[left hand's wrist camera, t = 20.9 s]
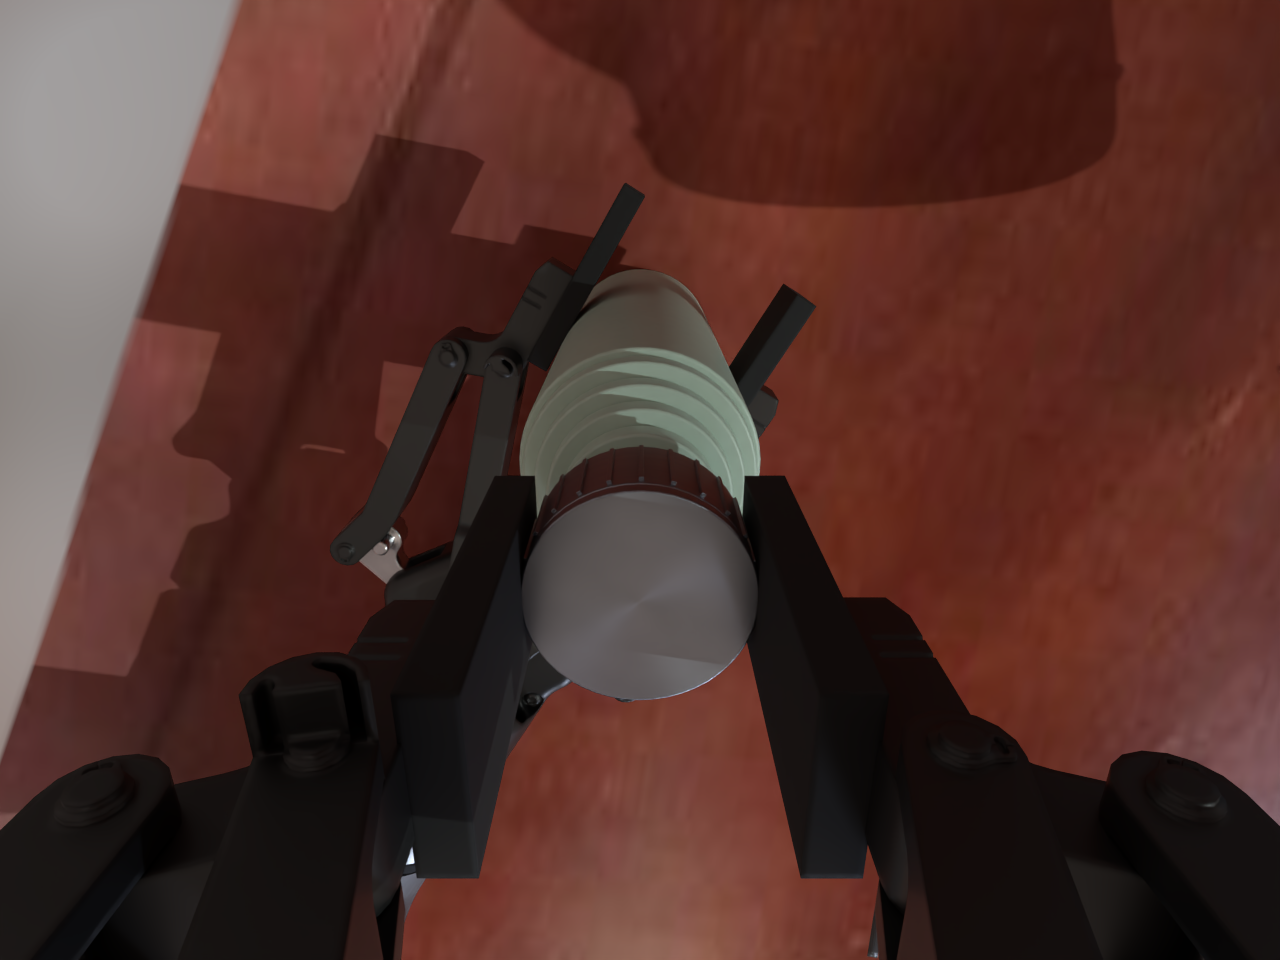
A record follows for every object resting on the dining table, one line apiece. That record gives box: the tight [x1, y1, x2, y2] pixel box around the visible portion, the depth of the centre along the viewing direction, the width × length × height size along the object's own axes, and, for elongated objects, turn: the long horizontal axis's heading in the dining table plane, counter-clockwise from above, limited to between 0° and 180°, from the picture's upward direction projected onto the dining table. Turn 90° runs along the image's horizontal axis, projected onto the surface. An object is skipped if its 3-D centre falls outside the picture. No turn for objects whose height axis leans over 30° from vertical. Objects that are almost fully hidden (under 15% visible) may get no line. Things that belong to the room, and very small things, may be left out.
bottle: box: [519, 269, 760, 518], centre depth 23 cm, size 6×6×21 cm
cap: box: [521, 445, 759, 700], centre depth 14 cm, size 4×4×2 cm
